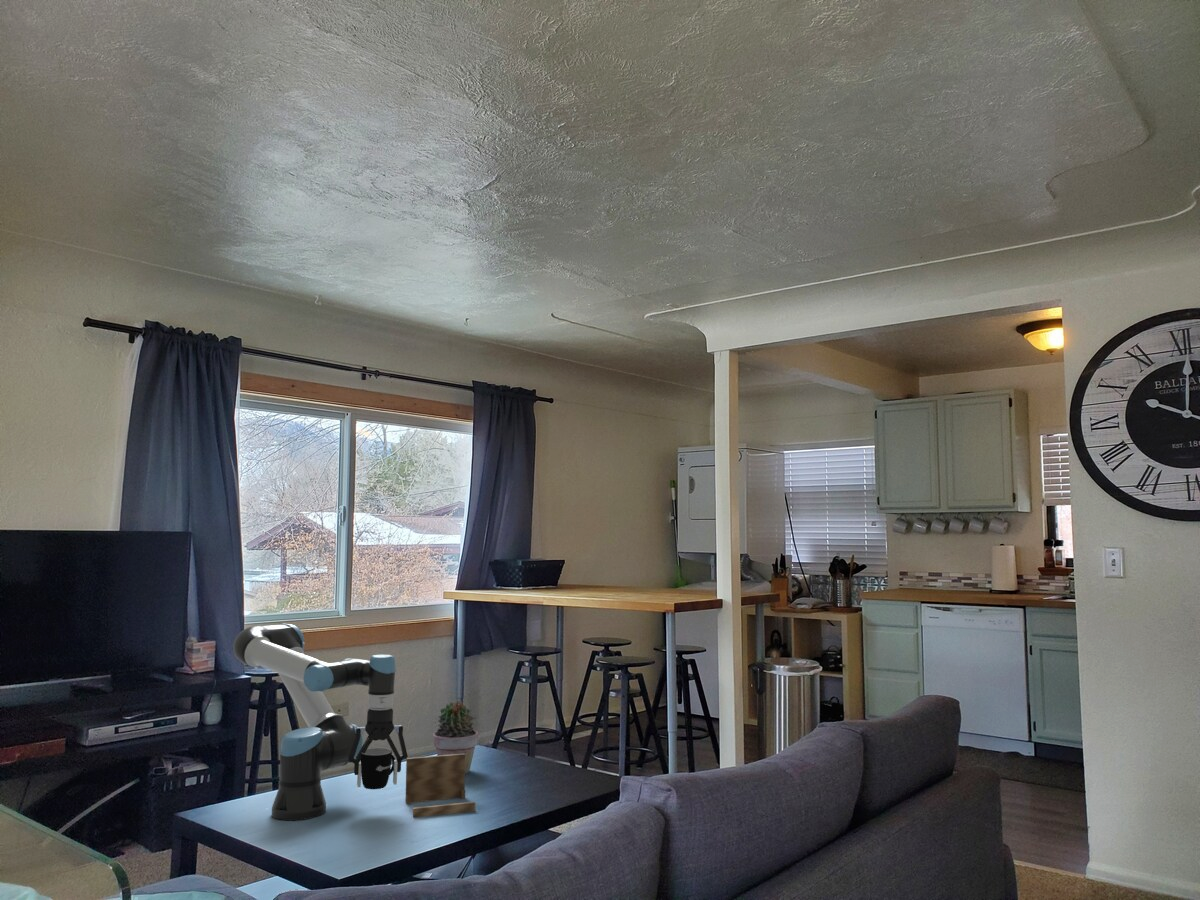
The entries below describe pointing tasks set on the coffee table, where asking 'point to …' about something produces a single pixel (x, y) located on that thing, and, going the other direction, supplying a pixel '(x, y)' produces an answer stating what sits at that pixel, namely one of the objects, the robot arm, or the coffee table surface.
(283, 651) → the robot arm
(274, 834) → the coffee table surface
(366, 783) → the mug
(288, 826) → the coffee table surface
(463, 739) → the potted plant
